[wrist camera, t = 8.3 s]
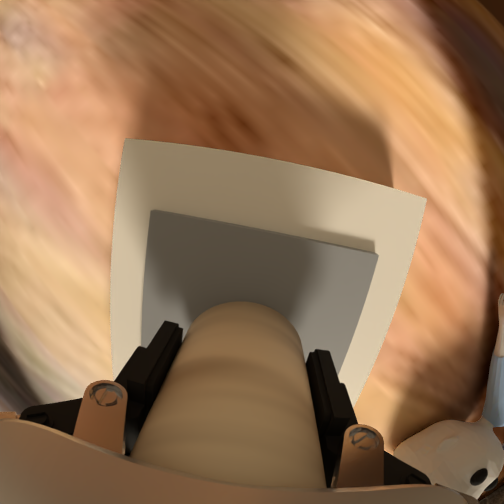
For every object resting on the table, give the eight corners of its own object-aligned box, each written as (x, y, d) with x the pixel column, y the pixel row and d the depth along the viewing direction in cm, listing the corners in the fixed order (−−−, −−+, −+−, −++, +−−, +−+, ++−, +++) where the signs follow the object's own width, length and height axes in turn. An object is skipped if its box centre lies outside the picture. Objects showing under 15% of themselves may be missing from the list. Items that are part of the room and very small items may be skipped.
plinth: (322, 410, 20) (331, 454, 16) (136, 376, 20) (113, 415, 16) (394, 192, 16) (432, 199, 12) (154, 144, 16) (120, 137, 12)
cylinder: (286, 405, 13) (294, 560, 5) (180, 386, 13) (125, 534, 5) (316, 313, 12) (371, 490, 4) (190, 289, 12) (94, 448, 4)
